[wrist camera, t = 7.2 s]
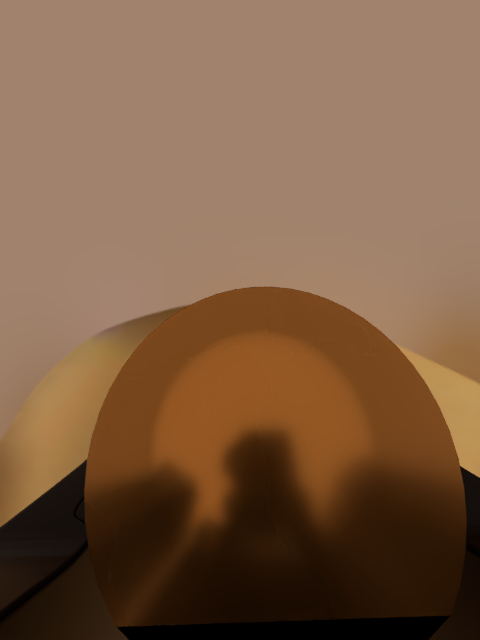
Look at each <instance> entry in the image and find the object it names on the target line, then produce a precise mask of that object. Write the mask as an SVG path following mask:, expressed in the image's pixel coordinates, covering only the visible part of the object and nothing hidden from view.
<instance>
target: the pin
mask: <svg viewBox="0 0 480 640" xmlns="http://www.w3.org/2000/svg"><path fill="white" fill-rule="evenodd" d="M84 499H85V525H86V532H87V540H88V547H89V553H90V557H91V561H92V565H93V569H94V573H95V577H96V580H97V584H98V587H99V589H100V592H101V594H102V597H103V599H104V602H105V604H106V607H107V609H108V612H109V614H110V616H111V618H112V620H113V622H114V624H115V625H116V627H117V628H118V629H119V630H120V631H121V632H122V633H123V634H124V635H125V636H126V638H127V639H128V640H429V639H430V638H431V637H432V635H433V634H434V633H435V632H436V631H437V630H438V629H439V628H440V627H441V626H442V624H443V623H444V622H445V621H446V620H447V619H448V618H449V617H450V616H451V613H452V610H453V606H454V603H455V600H456V596H457V593H458V590H459V586H460V583H461V577H462V570H463V564H464V558H465V552H466V526H467V516H466V504H465V492H464V485H463V480H462V475H461V469H460V464H459V459H458V456H457V453H456V450H455V446H454V443H453V440H452V437H451V434H450V431H449V428H448V426H447V424H446V422H445V419H444V417H443V415H442V412H441V410H440V408H439V406H438V404H437V402H436V400H435V399H434V397H433V395H432V393H431V391H430V390H429V388H428V386H427V384H426V383H425V381H424V380H423V379H422V377H421V376H420V374H419V373H418V372H417V370H416V369H415V367H414V366H413V364H412V363H411V362H410V361H409V360H408V359H407V357H406V356H405V355H404V354H403V353H402V352H401V351H400V349H399V348H398V347H397V346H396V345H395V344H394V343H393V342H392V341H391V340H389V339H388V338H387V337H386V336H385V335H384V334H383V333H382V332H381V331H380V330H378V329H377V328H376V327H374V326H373V325H372V324H370V323H369V322H368V321H366V320H365V319H364V318H362V317H361V316H359V315H357V314H356V313H354V312H352V311H351V310H349V309H347V308H346V307H344V306H341V305H339V304H337V303H335V302H333V301H330V300H329V299H326V298H323V297H320V296H317V295H314V294H311V293H308V292H303V291H299V290H294V289H288V288H278V287H250V288H243V289H235V290H231V291H227V292H223V293H219V294H216V295H213V296H210V297H208V298H205V299H202V300H200V301H198V302H196V303H194V304H192V305H190V306H188V307H186V308H184V309H182V310H181V311H179V312H178V313H176V314H175V315H173V316H172V317H170V318H169V319H167V320H166V321H165V322H164V323H162V324H161V325H160V326H159V327H158V328H157V329H155V330H154V331H153V332H152V333H151V334H150V335H149V336H148V337H147V338H146V339H145V340H144V341H143V342H142V343H141V344H140V345H139V346H138V348H137V349H136V350H135V351H134V352H133V354H132V355H131V356H130V358H129V359H128V360H127V362H126V363H125V364H124V366H123V367H122V369H121V371H120V372H119V374H118V376H117V377H116V379H115V381H114V383H113V384H112V386H111V388H110V390H109V392H108V394H107V397H106V399H105V401H104V403H103V406H102V408H101V410H100V413H99V416H98V419H97V422H96V426H95V429H94V432H93V435H92V440H91V445H90V450H89V454H88V459H87V467H86V478H85V489H84Z"/></svg>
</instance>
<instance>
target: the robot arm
mask: <svg viewBox="0 0 480 640" xmlns="http://www.w3.org/2000/svg"><path fill="white" fill-rule="evenodd" d="M86 467H87V460H85V461H84V462H83V463H82V464H81V465H80V466H78V467H77V468H76V469H75V470H73V471H72V472H71V473H70V474H68V475H67V476H66V477H65V478H63V479H62V480H61V481H60V482H58V483H57V484H56V485H55V486H53V487H52V488H51V489H49V490H48V491H47V492H46V493H44V494H43V495H42V496H40V497H39V498H38V499H36V500H35V501H34V502H33V503H31V504H30V505H29V506H27V507H26V508H25V509H24V510H22V511H21V512H20V513H18V514H17V515H16V516H15V517H13V518H12V519H11V520H9V521H8V522H7V523H5V524H4V525H3V526H2V527H0V640H128V639H127V638H126V636H125V635H124V634H123V633H122V632H121V631H120V630H119V629H118V628H117V627H116V625H115V624H114V622H113V620H112V618H111V616H110V614H109V612H108V609H107V607H106V604H105V602H104V599H103V597H102V594H101V592H100V589H99V587H98V584H97V580H96V577H95V573H94V569H93V565H92V561H91V557H90V553H89V547H88V540H87V532H86V525H85V499H84V489H85V478H86ZM460 469H461V475H462V480H463V485H464V492H465V504H466V516H467V526H466V552H465V558H464V564H463V570H462V577H461V583H460V586H459V590H458V593H457V596H456V600H455V603H454V606H453V610H452V613H451V616H450V617H449V618H448V619H447V620H446V621H445V622H444V623H443V624H442V626H441V627H440V628H439V629H438V630H437V631H436V632H435V633H434V634H433V635H432V637H431V638H430V639H429V640H480V478H479V477H477V476H476V475H474V474H472V473H471V472H469V471H467V470H466V469H464V468H463V467H461V466H460Z"/></svg>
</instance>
